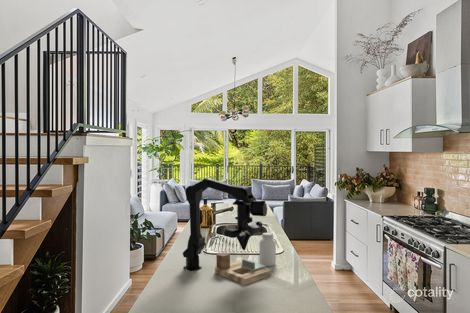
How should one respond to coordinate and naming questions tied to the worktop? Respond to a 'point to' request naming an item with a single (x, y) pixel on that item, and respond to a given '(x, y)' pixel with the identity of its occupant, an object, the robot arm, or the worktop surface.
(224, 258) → the block
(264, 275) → the wooden board with hole
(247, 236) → the robot arm
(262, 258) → the pill bottle
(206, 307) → the worktop surface
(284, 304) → the worktop surface
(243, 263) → the cover
